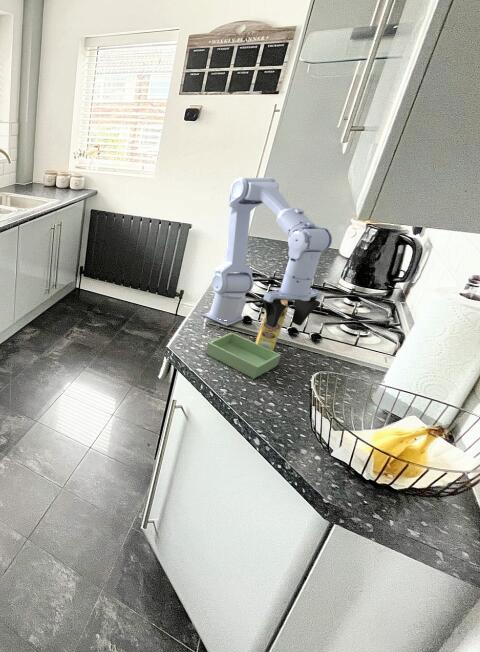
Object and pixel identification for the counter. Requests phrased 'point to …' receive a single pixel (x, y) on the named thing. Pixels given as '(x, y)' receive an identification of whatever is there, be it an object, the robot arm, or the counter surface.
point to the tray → (243, 354)
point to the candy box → (270, 330)
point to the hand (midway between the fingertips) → (283, 324)
